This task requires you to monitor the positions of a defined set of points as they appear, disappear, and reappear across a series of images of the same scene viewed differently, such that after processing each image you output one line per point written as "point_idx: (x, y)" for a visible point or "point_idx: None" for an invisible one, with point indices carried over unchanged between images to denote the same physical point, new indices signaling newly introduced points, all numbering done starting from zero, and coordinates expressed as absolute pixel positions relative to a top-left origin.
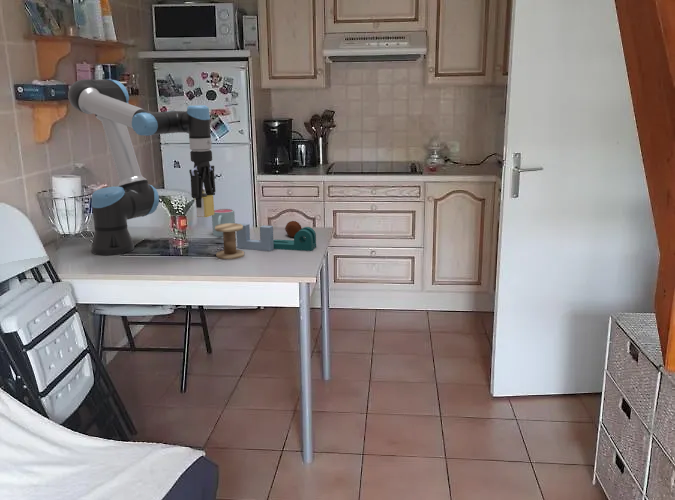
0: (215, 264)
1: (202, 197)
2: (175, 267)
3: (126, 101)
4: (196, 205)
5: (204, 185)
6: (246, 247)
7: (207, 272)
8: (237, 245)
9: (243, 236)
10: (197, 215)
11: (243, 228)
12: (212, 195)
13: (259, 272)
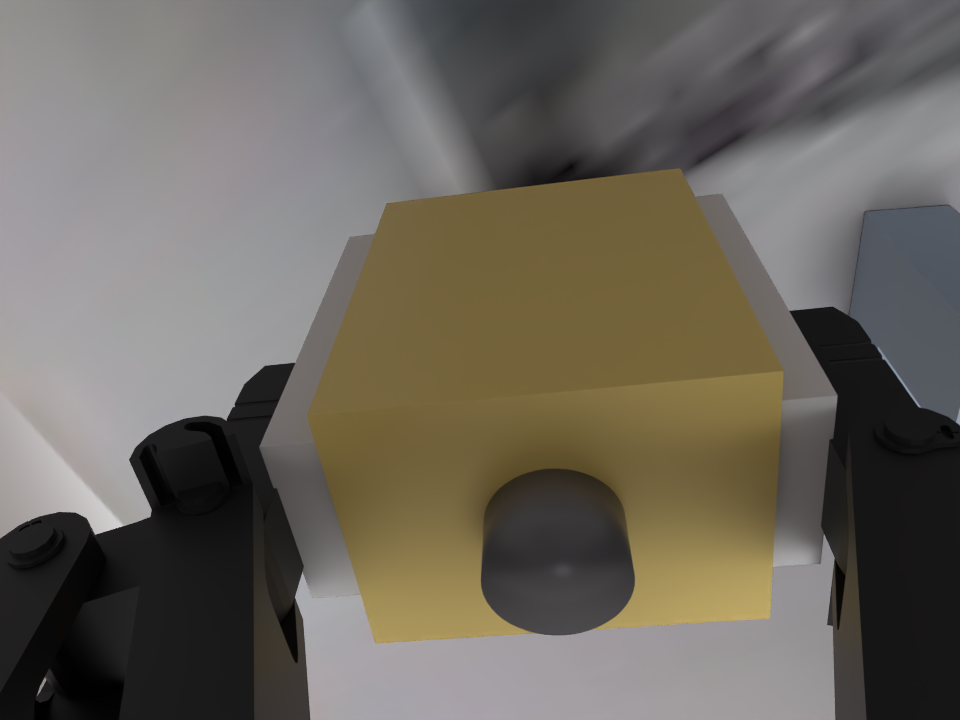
0: (296, 342)
1: (390, 564)
2: (16, 92)
3: None
4: (239, 403)
5: (859, 703)
6: (855, 312)
7: (105, 405)
8: (874, 225)
9: (901, 345)
10: (351, 252)
11: (941, 401)
12: (756, 609)
13: (308, 645)
